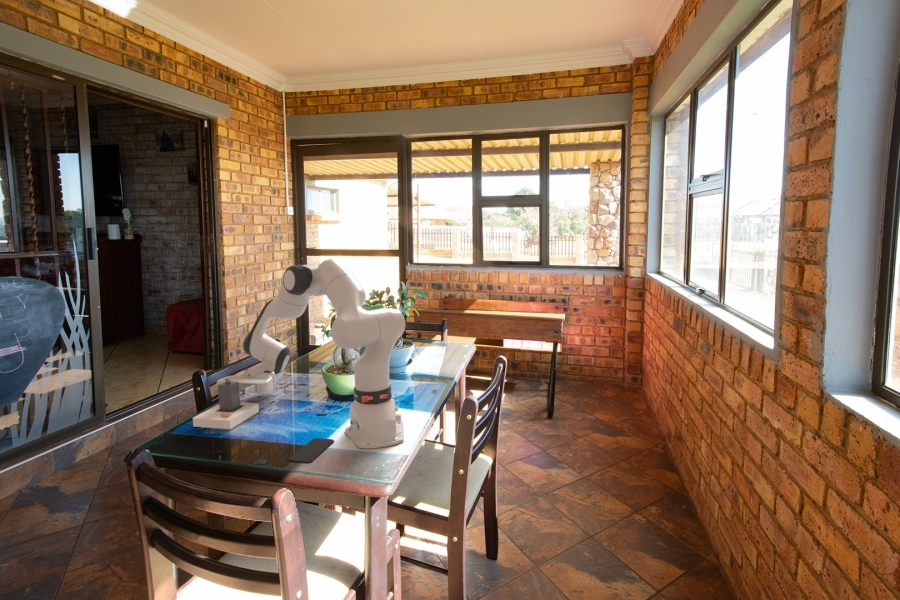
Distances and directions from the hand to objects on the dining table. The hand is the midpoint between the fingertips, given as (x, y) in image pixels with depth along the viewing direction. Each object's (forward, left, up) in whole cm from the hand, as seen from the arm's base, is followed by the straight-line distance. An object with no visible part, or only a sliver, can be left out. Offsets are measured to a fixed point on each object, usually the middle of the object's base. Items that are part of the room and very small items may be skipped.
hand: (231, 391), depth 175 cm
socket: (-3, +2, -9) cm, 10 cm away
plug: (-2, +1, -9) cm, 9 cm away
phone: (-39, -25, -10) cm, 47 cm away
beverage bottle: (+16, -50, -9) cm, 54 cm away
